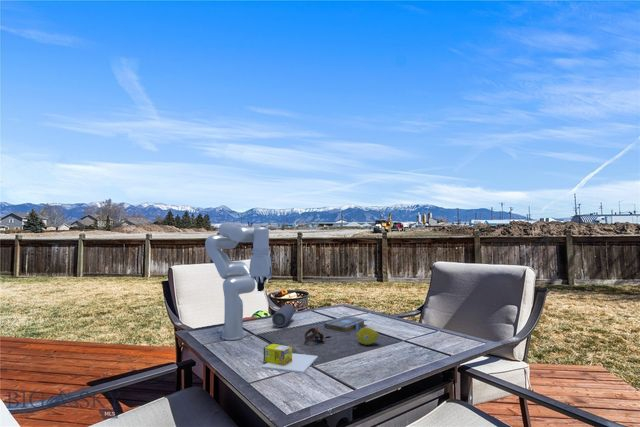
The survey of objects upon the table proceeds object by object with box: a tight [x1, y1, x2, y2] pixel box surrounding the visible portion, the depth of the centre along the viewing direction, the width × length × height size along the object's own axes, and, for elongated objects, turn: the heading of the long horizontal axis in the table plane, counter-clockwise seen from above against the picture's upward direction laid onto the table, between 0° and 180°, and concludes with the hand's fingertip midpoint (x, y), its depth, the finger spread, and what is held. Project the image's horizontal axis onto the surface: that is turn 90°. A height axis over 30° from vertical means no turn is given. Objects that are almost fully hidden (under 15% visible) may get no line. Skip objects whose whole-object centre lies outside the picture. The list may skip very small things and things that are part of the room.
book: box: [322, 315, 368, 335], centre depth 200 cm, size 21×16×5 cm
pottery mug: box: [303, 327, 326, 344], centre depth 175 cm, size 12×10×8 cm
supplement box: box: [263, 343, 293, 365], centre depth 147 cm, size 6×6×11 cm
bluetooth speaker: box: [271, 304, 295, 328], centre depth 210 cm, size 23×9×10 cm, turn 172°
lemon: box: [356, 327, 380, 346], centre depth 170 cm, size 11×8×8 cm
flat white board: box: [261, 352, 319, 374], centre depth 147 cm, size 18×18×1 cm
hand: (260, 290), depth 167 cm, fingers closed
